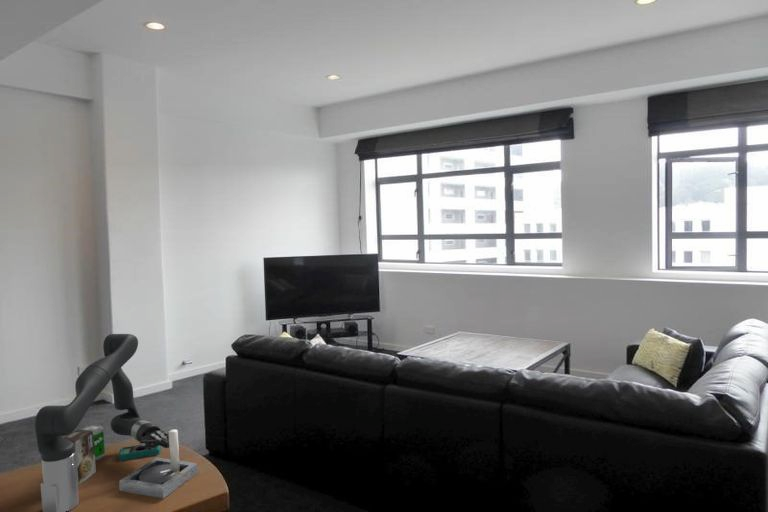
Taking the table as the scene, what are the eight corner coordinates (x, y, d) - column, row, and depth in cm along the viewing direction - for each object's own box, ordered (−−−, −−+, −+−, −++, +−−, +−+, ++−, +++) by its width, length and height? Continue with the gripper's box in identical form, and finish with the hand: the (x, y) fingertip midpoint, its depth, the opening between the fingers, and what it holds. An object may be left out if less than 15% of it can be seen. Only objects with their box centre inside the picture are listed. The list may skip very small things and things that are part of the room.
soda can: (85, 455, 210) (83, 425, 209) (106, 452, 212) (104, 422, 211) (80, 463, 202) (78, 433, 201) (103, 460, 205) (100, 430, 204)
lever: (142, 493, 179) (139, 446, 178) (137, 476, 190) (134, 432, 189) (183, 481, 186) (181, 436, 185) (176, 466, 197) (173, 423, 196)
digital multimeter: (160, 455, 209) (160, 447, 209) (118, 462, 204) (118, 454, 204) (161, 447, 216) (161, 440, 216) (120, 454, 211) (120, 446, 211)
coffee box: (80, 471, 196) (77, 429, 195) (96, 472, 195) (93, 429, 194) (62, 484, 188) (58, 439, 186) (78, 485, 186) (75, 440, 185)
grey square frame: (163, 498, 177) (162, 488, 177) (119, 490, 182) (118, 480, 182) (198, 472, 194) (197, 462, 194) (156, 466, 199) (156, 456, 199)
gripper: (127, 428, 198) (150, 441, 187) (161, 417, 208) (185, 428, 197) (128, 448, 198) (151, 462, 187) (162, 436, 208) (186, 448, 197)
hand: (168, 444), depth 192 cm, fingers closed
